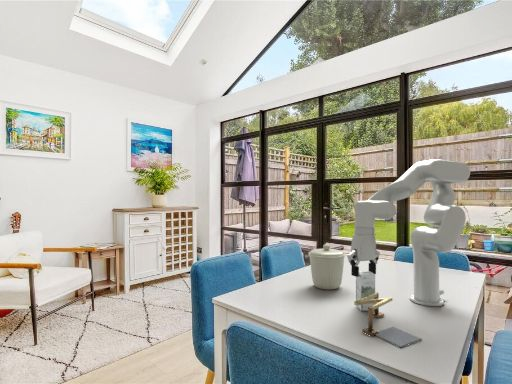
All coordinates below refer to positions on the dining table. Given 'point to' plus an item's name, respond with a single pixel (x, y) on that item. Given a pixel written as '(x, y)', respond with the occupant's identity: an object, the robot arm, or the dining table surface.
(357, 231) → the robot arm
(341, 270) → the canister
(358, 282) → the syrup box
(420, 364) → the dining table surface
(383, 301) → the accordion peg rack
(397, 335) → the slate mat
